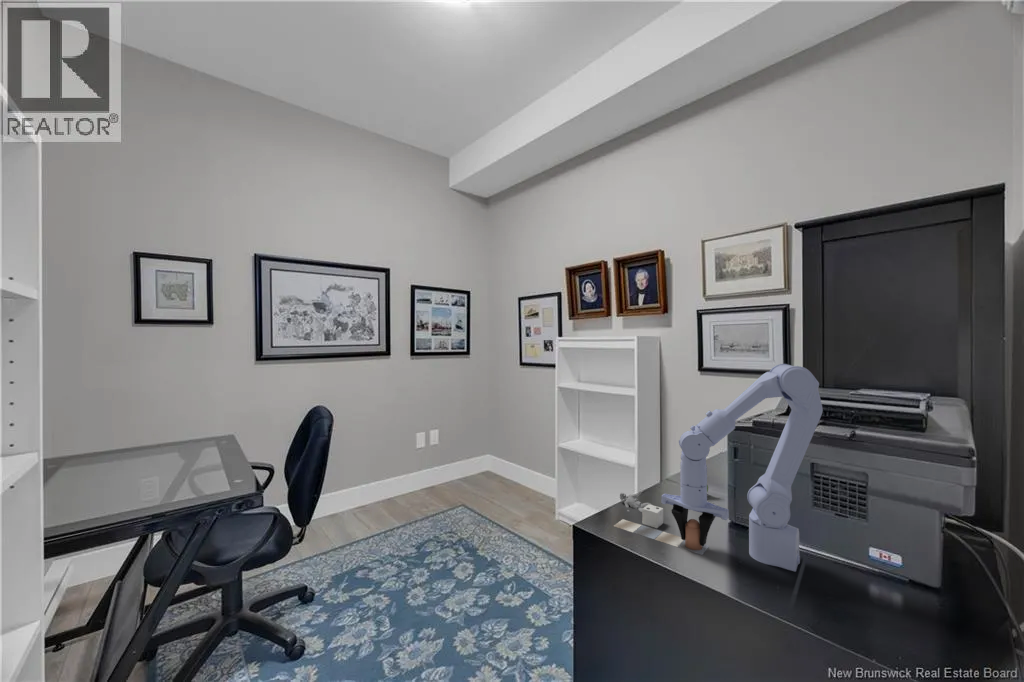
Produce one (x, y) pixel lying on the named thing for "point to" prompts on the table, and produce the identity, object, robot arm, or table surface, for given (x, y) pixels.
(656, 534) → the board
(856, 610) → the table surface
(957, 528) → the table surface
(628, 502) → the soldier figure
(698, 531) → the pawn
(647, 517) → the die
